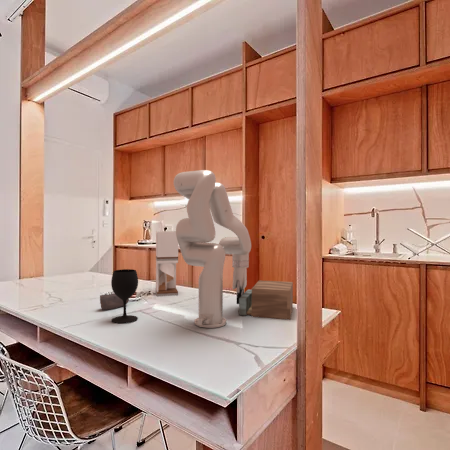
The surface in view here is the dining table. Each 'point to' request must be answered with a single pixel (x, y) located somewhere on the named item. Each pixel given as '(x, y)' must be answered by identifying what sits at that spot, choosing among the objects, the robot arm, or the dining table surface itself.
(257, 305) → the brown wooden block
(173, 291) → the display case
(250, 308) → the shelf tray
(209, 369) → the dining table surface
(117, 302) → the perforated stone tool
